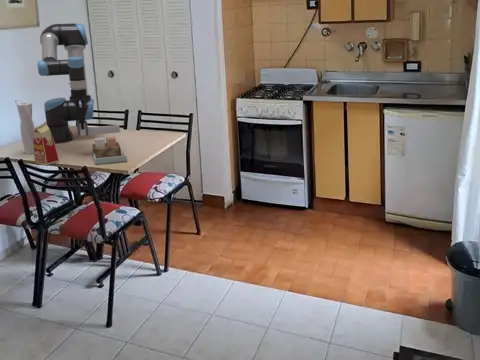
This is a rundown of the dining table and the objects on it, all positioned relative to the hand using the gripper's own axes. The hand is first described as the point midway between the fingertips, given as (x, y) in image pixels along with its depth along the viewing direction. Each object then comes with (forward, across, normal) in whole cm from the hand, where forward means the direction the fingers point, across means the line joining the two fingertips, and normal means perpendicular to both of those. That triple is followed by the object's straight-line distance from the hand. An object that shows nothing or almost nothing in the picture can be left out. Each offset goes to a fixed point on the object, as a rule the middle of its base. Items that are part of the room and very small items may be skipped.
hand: (83, 134), depth 287 cm
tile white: (+5, +7, +8) cm, 11 cm away
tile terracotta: (+5, +7, +13) cm, 16 cm away
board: (+10, +7, +10) cm, 16 cm away
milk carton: (+11, +9, -19) cm, 24 cm away
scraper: (0, 0, +8) cm, 8 cm away
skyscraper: (+10, -13, -27) cm, 32 cm away
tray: (+11, +17, +11) cm, 23 cm away
